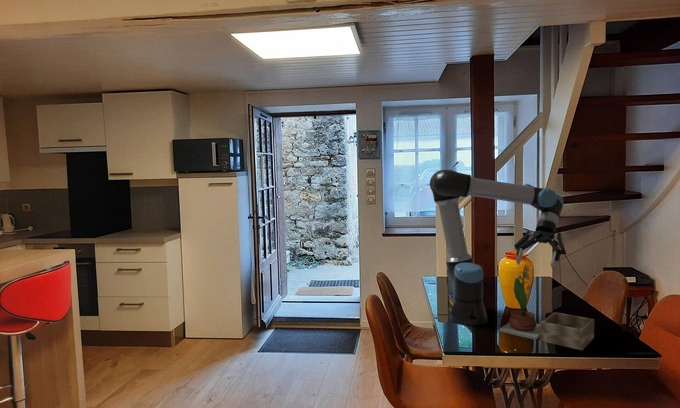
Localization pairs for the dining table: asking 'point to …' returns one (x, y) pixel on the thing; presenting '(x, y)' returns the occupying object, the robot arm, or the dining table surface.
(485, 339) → the dining table surface
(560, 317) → the open wooden box
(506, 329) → the pad
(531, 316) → the potted flower
